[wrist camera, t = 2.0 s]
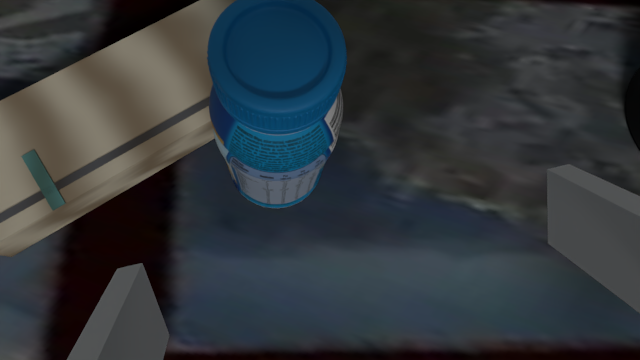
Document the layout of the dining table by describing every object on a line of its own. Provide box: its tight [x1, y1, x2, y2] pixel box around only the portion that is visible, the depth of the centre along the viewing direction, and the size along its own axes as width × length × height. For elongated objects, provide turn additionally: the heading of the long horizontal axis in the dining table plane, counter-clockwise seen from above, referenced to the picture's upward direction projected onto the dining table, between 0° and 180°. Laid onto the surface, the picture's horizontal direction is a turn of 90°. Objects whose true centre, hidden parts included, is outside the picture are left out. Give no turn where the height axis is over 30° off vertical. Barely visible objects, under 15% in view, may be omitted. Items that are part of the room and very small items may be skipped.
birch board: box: [0, 0, 236, 257], centre depth 38 cm, size 28×10×4 cm, turn 124°
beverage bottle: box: [207, 0, 347, 208], centre depth 31 cm, size 8×8×20 cm
